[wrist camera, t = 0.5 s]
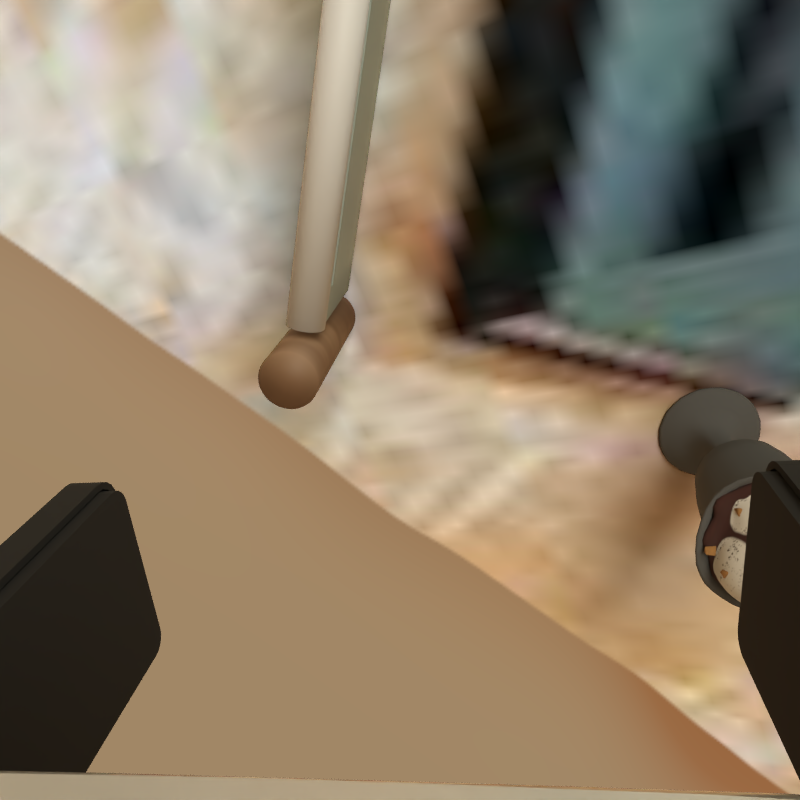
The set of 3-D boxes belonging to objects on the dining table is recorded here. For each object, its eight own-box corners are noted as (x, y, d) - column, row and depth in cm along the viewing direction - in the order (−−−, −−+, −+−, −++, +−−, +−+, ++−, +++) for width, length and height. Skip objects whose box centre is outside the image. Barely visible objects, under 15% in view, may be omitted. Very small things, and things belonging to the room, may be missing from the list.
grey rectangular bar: (373, -157, 28) (343, -227, 22) (414, -150, 28) (395, -218, 22) (316, 287, 35) (281, 327, 29) (348, 293, 35) (320, 335, 29)
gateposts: (377, -232, 28) (332, -371, 19) (438, -221, 28) (420, -356, 19) (305, 333, 37) (255, 402, 29) (351, 342, 37) (314, 414, 29)
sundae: (642, 494, 39) (732, 715, 25) (640, 378, 36) (739, 551, 22) (773, 485, 38) (942, 710, 24) (781, 365, 35) (974, 538, 21)
